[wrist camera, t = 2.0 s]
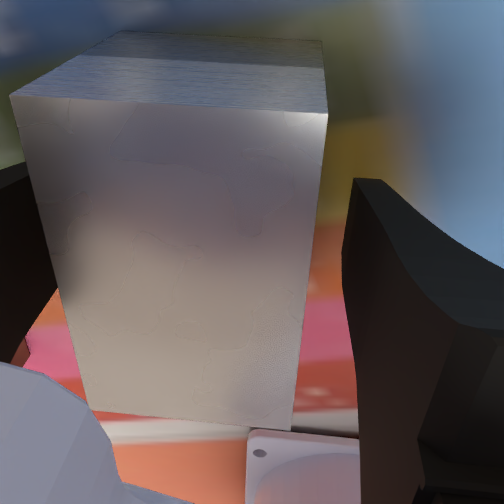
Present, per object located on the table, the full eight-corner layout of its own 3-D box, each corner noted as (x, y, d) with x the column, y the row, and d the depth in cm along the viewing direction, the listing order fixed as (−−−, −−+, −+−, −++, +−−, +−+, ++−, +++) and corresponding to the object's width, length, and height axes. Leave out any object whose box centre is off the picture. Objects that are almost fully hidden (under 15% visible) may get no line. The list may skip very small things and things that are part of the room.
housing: (295, 287, 15) (290, 431, 10) (150, 275, 15) (89, 410, 11) (321, 39, 11) (327, 114, 7) (122, 30, 11) (8, 94, 7)
